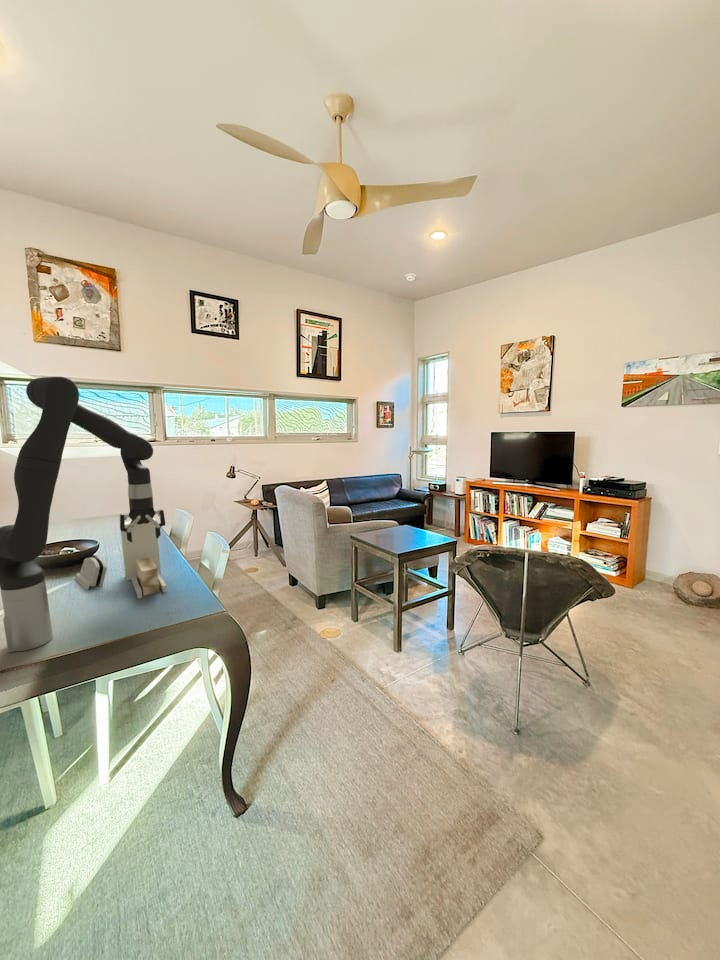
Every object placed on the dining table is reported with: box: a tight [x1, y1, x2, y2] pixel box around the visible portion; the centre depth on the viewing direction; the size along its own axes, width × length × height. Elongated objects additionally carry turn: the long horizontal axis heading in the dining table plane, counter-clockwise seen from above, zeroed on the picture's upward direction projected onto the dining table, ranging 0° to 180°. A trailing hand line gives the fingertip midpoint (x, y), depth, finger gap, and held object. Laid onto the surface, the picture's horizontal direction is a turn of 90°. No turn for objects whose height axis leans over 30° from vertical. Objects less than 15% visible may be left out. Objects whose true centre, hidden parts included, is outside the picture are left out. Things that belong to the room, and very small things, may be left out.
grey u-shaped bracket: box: [120, 517, 168, 599], centre depth 145 cm, size 12×26×22 cm, turn 36°
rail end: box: [136, 558, 160, 596], centre depth 143 cm, size 5×15×9 cm, turn 37°
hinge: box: [74, 557, 108, 591], centre depth 149 cm, size 17×5×10 cm, turn 49°
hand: (144, 539), depth 141 cm, fingers open, 8 cm apart
